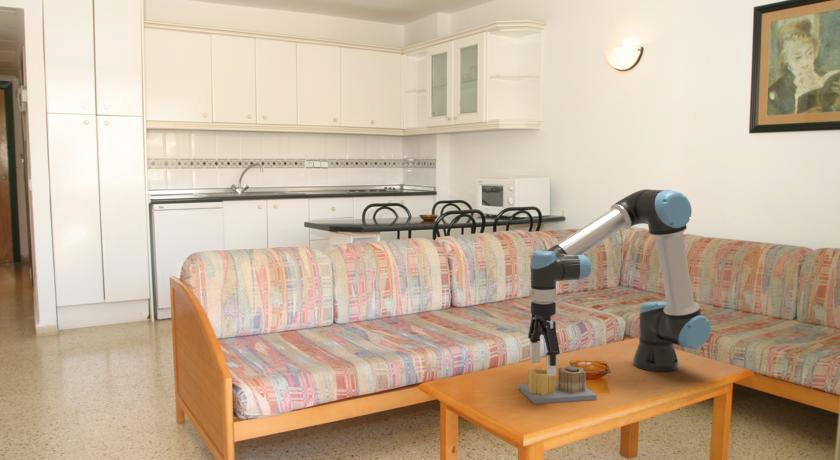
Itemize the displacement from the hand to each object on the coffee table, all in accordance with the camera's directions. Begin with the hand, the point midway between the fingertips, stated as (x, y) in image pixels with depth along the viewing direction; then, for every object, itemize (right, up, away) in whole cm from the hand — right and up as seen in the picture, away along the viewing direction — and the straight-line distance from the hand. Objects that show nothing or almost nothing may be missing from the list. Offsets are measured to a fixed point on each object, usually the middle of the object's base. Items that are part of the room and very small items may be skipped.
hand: (543, 368), depth 212 cm
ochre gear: (0, -7, 0) cm, 7 cm away
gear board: (+4, -8, +2) cm, 9 cm away
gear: (+9, -7, +2) cm, 12 cm away
